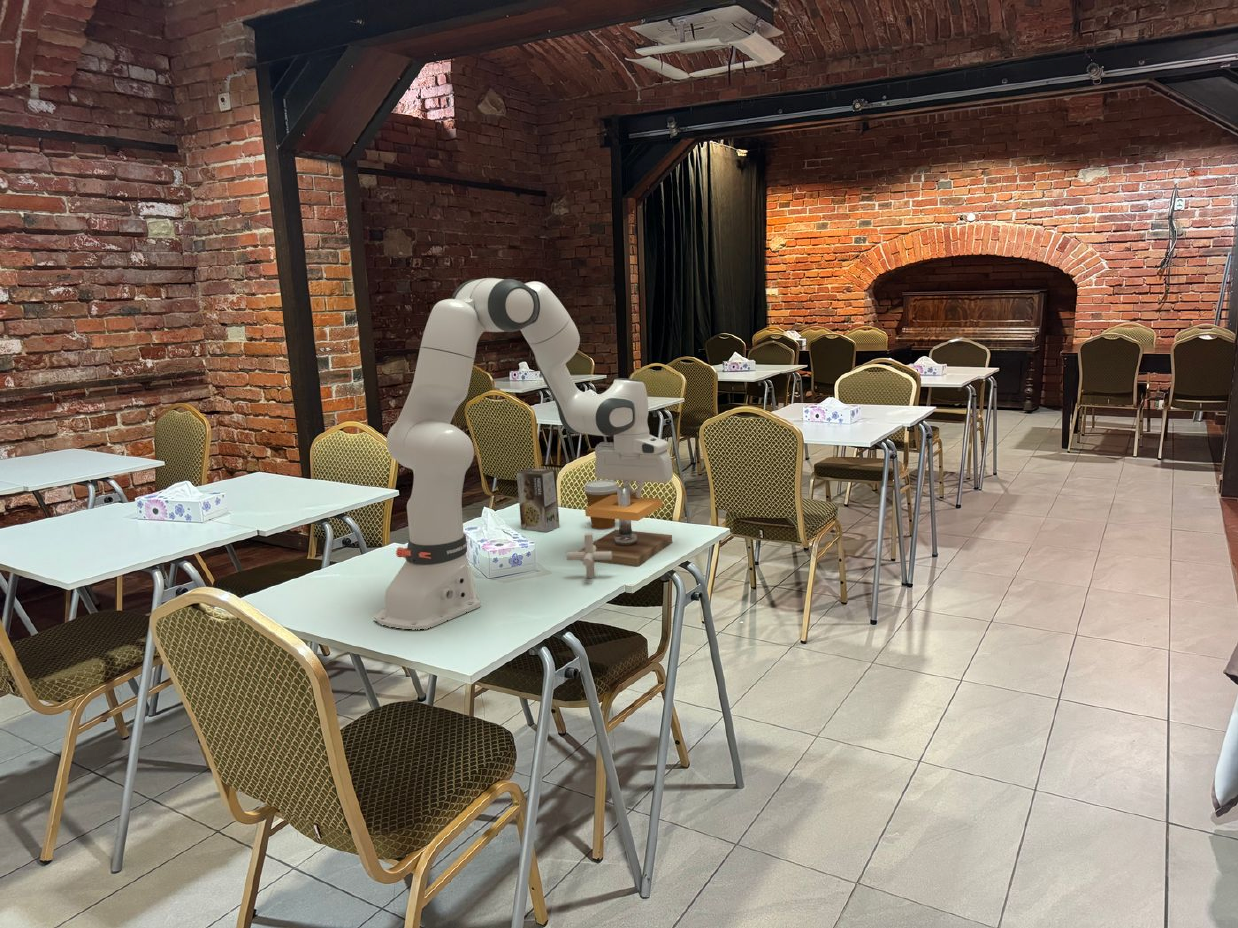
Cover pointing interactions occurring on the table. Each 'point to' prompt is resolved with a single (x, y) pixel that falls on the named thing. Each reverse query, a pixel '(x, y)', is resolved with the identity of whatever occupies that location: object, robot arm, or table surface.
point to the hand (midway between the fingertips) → (634, 497)
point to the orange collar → (623, 508)
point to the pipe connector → (589, 555)
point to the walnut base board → (632, 548)
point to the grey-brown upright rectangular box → (538, 499)
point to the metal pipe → (624, 521)
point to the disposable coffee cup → (597, 493)
